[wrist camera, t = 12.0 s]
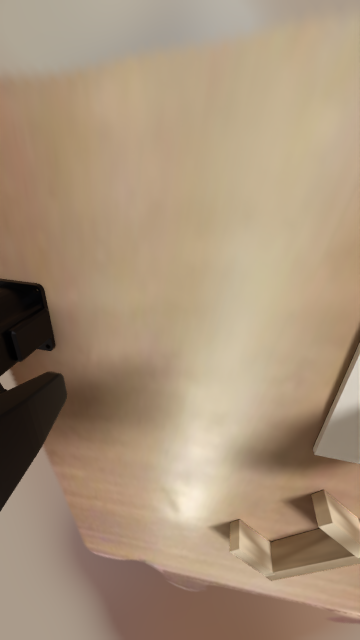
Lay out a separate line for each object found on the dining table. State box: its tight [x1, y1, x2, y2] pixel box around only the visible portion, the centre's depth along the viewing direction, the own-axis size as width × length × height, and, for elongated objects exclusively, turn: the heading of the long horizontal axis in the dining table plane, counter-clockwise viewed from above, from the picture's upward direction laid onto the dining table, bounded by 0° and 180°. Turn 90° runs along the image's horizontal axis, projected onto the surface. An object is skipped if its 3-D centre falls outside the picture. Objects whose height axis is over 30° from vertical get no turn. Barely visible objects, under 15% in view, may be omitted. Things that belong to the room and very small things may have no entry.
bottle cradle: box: [229, 490, 360, 581], centre depth 30 cm, size 7×13×3 cm, turn 139°
